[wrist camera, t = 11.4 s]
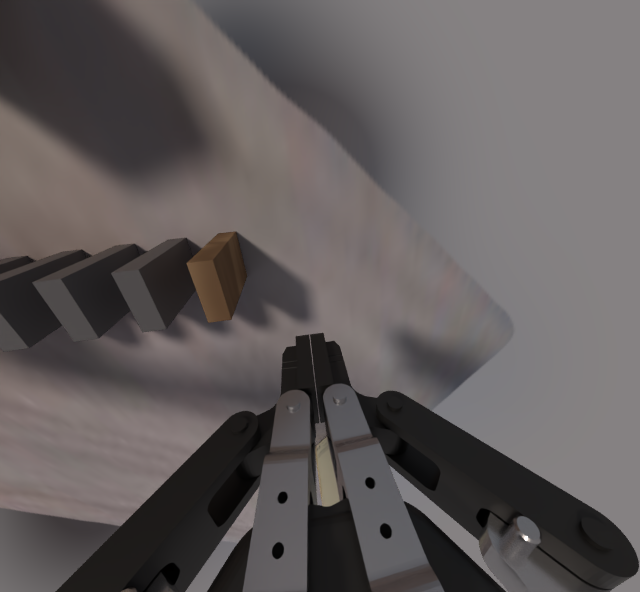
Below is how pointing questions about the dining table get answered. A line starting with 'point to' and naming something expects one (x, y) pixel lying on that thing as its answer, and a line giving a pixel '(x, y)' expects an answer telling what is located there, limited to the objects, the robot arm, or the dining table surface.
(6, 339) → the domino
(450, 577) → the robot arm
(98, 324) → the domino
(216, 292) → the domino
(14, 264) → the domino
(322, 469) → the skincare box
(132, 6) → the dining table surface
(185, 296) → the domino
